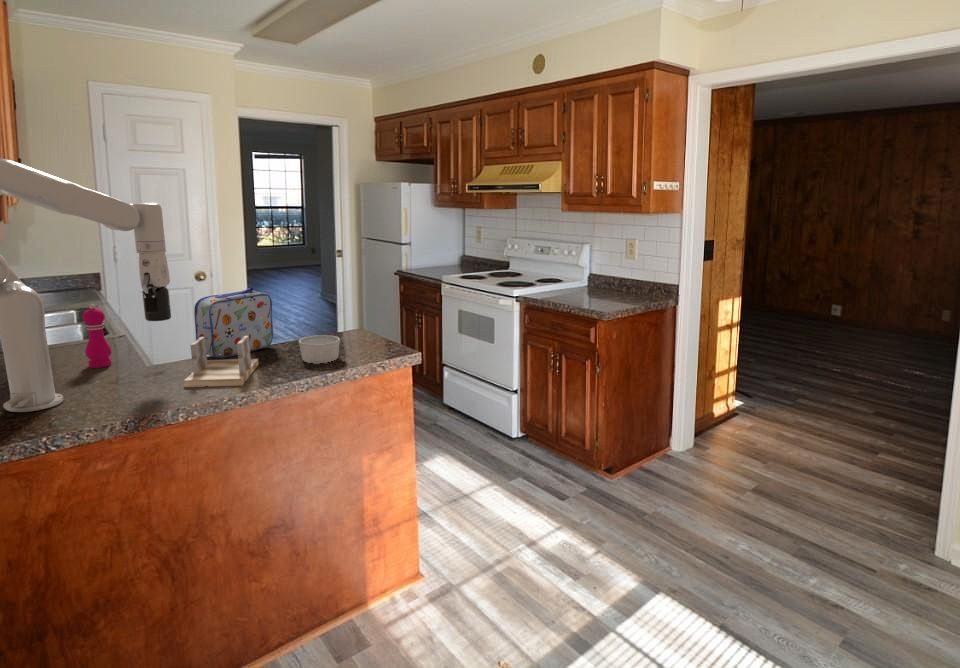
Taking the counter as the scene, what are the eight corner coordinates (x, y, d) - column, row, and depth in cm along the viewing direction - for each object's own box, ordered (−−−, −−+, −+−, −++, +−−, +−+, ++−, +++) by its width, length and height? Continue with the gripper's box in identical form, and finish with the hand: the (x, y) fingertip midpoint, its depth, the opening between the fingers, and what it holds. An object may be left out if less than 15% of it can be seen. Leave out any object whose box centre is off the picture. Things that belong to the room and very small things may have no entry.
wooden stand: (242, 385, 184) (239, 348, 182) (184, 387, 182) (180, 350, 180) (258, 364, 206) (256, 331, 203) (206, 366, 204) (203, 332, 201)
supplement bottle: (176, 318, 187) (172, 278, 184) (154, 322, 181) (150, 280, 179) (162, 316, 190) (157, 276, 188) (140, 320, 185) (135, 278, 182)
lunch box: (260, 342, 235) (256, 283, 230) (280, 346, 230) (276, 285, 225) (194, 359, 212) (187, 293, 207) (214, 363, 207) (208, 296, 202)
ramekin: (344, 363, 208) (343, 342, 207) (302, 367, 203) (301, 345, 202) (337, 353, 220) (336, 333, 219) (297, 357, 215) (296, 336, 214)
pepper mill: (89, 369, 199) (80, 306, 195) (85, 365, 205) (76, 303, 200) (115, 365, 204) (107, 304, 199) (110, 361, 209) (102, 301, 205)
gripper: (153, 250, 173) (160, 314, 177) (175, 244, 190) (180, 303, 194) (124, 250, 172) (131, 314, 176) (148, 244, 189) (154, 304, 193)
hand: (157, 308), depth 185 cm, fingers closed on supplement bottle, 6 cm apart
